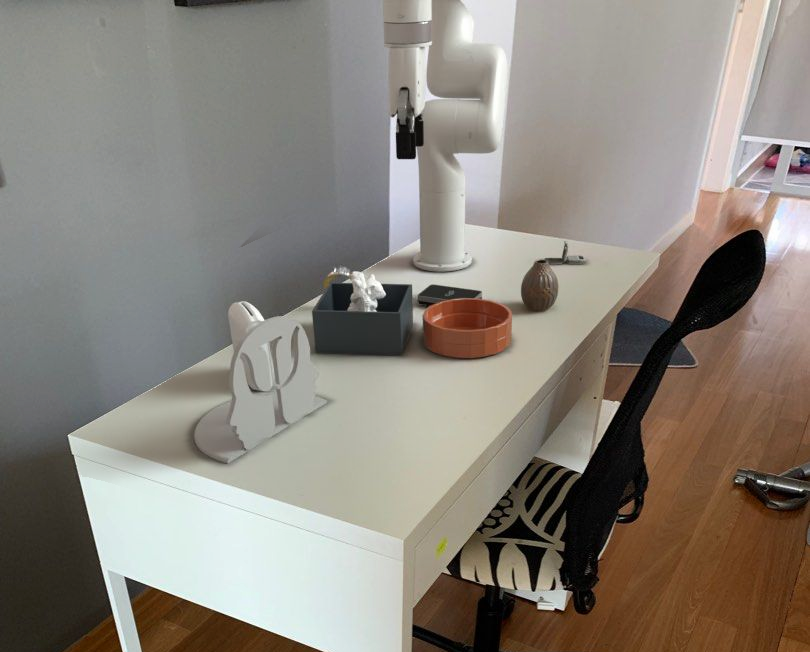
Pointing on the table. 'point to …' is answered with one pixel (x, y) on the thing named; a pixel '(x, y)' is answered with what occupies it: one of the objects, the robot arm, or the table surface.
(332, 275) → the ring
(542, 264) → the vase
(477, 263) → the table surface
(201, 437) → the ornament
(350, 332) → the bin
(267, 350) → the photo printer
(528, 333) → the table surface
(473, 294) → the external hard drive
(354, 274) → the koala figurine
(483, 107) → the robot arm
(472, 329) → the bowl
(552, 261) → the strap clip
